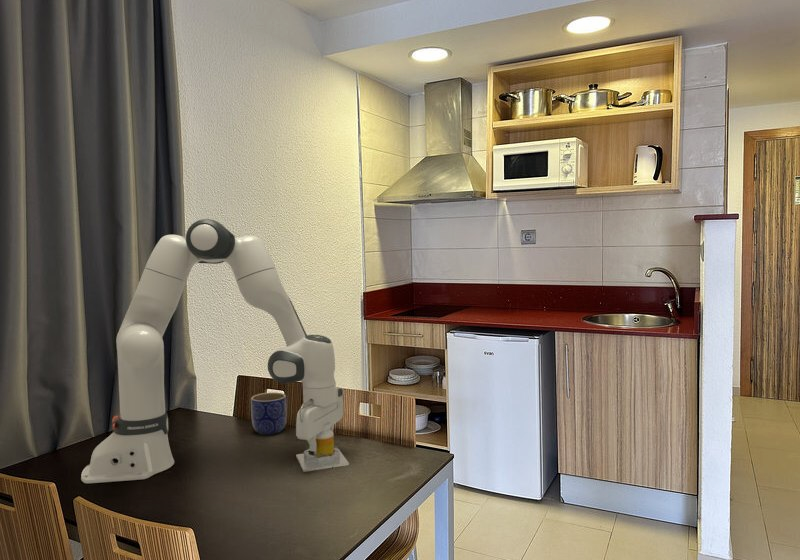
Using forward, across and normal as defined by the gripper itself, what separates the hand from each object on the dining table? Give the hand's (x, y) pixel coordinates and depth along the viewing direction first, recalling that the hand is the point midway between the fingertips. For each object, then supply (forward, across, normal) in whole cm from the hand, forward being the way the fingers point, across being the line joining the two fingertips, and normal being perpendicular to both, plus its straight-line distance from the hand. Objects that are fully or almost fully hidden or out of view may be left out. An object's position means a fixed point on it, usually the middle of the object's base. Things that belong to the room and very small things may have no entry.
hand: (321, 445), depth 163 cm
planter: (+4, +18, +28) cm, 34 cm away
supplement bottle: (+4, 0, -1) cm, 4 cm away
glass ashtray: (+4, 0, 0) cm, 4 cm away
